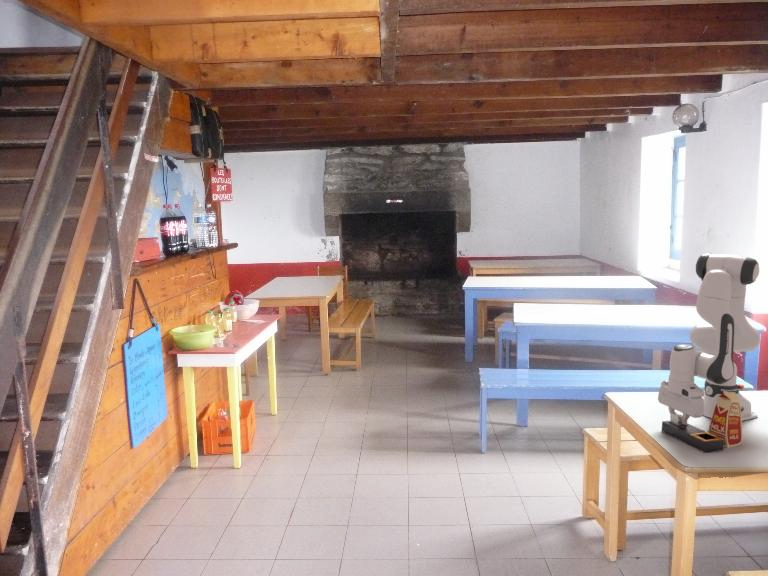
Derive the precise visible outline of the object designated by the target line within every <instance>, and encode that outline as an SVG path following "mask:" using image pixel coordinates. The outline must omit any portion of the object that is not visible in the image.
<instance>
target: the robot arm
mask: <svg viewBox="0 0 768 576" xmlns="http://www.w3.org/2000/svg"><path fill="white" fill-rule="evenodd" d="M695 274H696V275H697V277H698V278H700V279H701V284H700V286H699V287H700V288H699V290H698V293H697V294H698V296H697V299H696V303H695V304H696V305H695V307H696V312H697V314H698V315H699V317H700V318H701V319H703V320H704V321H705V322H706V323H701V324H695V325H694V326H693V327H692V328H691V330H690V333H689V340H690V342H691V343H692V344H688V343H683V344H682V343H680V344H676V345H674V346H673V348H672V349H671V351H670V357H669V358H670V359H669V370H670V371H669V375H668V381H667V380H663V381H662V382H661V383H660V387H659V390H658V396H657V401H658V403H660V404H661V405H664V406H666V407H668V413H669V414H670V415H669V418H671V413H675V412H676V411H677V412H681V413H683V416H684V417H683V419H681V423H682V424H687V423H688V420H689V419H690V417H691V418H694V419H698V418H702V417H703V416H704V417H707V418H710V419H712V416H713V412H714V409H715V406H716V403H717V399H718V396H720V395H722V394H723V391H726V392H736V393H735V396H736V397H737V399H738V400H739V401H740V406H741V415H742V422H743V421H746V420H752V419H756V418H758V414H757V413H756V412H754V411H752V404H751V401H749V400H748V399H747V398H746V397H745V396H743V394H742V393H740V391H739V390H741V391H743V390H744V389H745V386H744V385H743V384H737V377H738V367H737V365H736V363H735V362H734V352H738V353H744V352H753V351H755V350H757V348H759V346H760V344H761V334H760V332H759V331H758V330H757V329H756V328H755V327H753V326H752V325H751V324H750V323H749V321H748V319H747V318H746V314H745V303H746V302H745V301H746V300H745V299H746V291H747V286H748V285H751V284H753V283H754V282H756V280H757V278H758V277H759V274H760V265H759V262H758V261H757V260H756V259H754V258H752V257H748V256H747V257H743V256H740V255H734V254H722V253H721V254H719V253H718V254H717V253H710V252H709V253H703V254H701V255H699V256H698V258H697V261H696V263H695ZM695 377H698V378H701V379H704V387H703V389H704V390H703V389H701V388H700V387H699V386H698V385H697V384H696V383H695ZM675 410H676V411H675Z"/></svg>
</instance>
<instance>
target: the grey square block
mask: <svg viewBox="0 0 768 576" xmlns="http://www.w3.org/2000/svg"><path fill="white" fill-rule="evenodd" d="M683 417H684V416H683V413H682V412H680V411H677V412H676V411H675V413H671V418H670V417H669V418H670V419H669V421H670V424H672V425H674V426H676V427H683V426H686V424H682V423H681V419H683Z"/></svg>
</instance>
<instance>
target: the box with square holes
mask: <svg viewBox="0 0 768 576" xmlns="http://www.w3.org/2000/svg"><path fill="white" fill-rule="evenodd" d="M661 432H662V433H664V434H666V435H668V436H670V437H673V438H674V439H676V440H678V441H680V442H682V443H685V444H686V445H688V446H690V447H692V448H695V449H696V450H698V451H700V452H702V451H703V452H702V453H704V452H705V453H704V454H709V453H714V452H723V451H724V448H725V447H724V440H723V439H722V438H720V437H718V436H715V435H713V434H711V433H709V432H708V431H705V430H704V429H701V428H699V427H697V426H693V425H692V424H689V423H688V422H687V424H686V426H683V427H676V426H674V425H672V424H670V420H665V421H664V420H662V421H661Z"/></svg>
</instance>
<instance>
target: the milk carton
mask: <svg viewBox="0 0 768 576" xmlns="http://www.w3.org/2000/svg"><path fill="white" fill-rule="evenodd" d="M735 393H736V392H726V391H723V394H722V395H720V396H718V399H717V403H716V406H715V409H714V412H713V416H712V418H710V419H711V420H710V423H709V427H708V430H707V432H709V433H711V434H713V435H715V436H718V437H720V438H722V439H723V440H724V448H727V449H728V448H729V449H730V448H734V447H737V446H741V445H743V421H742V415H741V406H740V401H739V400H738V399H737V397H736V396H735Z"/></svg>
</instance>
